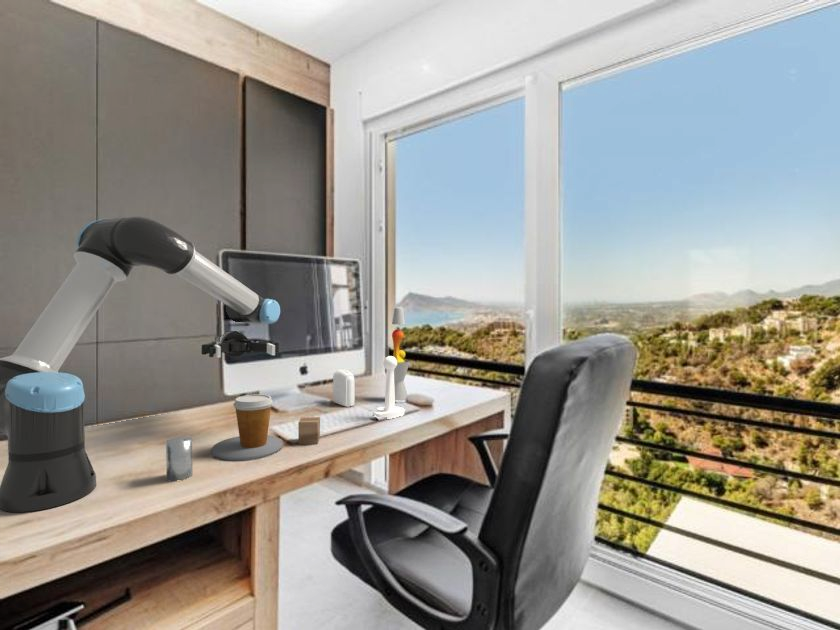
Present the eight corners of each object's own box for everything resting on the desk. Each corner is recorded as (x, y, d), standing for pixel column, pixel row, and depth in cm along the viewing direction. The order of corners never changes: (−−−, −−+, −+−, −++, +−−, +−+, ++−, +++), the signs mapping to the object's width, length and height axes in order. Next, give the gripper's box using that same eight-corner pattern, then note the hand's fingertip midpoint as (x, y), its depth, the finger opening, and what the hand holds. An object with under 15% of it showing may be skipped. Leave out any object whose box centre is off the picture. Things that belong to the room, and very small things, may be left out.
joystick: (381, 421, 145) (381, 358, 144) (366, 417, 150) (366, 355, 149) (406, 415, 152) (407, 355, 151) (391, 411, 158) (392, 353, 157)
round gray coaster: (258, 464, 108) (258, 459, 108) (196, 456, 112) (196, 452, 112) (295, 441, 124) (295, 437, 124) (240, 435, 129) (240, 432, 129)
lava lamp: (398, 404, 167) (399, 308, 165) (380, 400, 172) (381, 307, 171) (414, 400, 174) (415, 307, 172) (396, 396, 179) (397, 306, 178)
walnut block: (317, 444, 123) (317, 421, 122) (298, 444, 122) (298, 422, 122) (320, 438, 128) (320, 416, 127) (301, 438, 127) (301, 417, 127)
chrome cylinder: (180, 482, 97) (180, 444, 97) (161, 479, 98) (160, 442, 98) (197, 473, 102) (197, 437, 102) (178, 470, 103) (178, 435, 103)
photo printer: (331, 402, 169) (331, 368, 169) (341, 400, 172) (341, 367, 171) (345, 407, 161) (345, 372, 161) (356, 406, 164) (356, 371, 163)
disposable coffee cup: (254, 436, 125) (254, 392, 125) (280, 441, 121) (280, 396, 120) (225, 446, 117) (225, 399, 116) (252, 452, 112) (252, 404, 112)
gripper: (275, 354, 146) (294, 363, 127) (187, 358, 133) (194, 368, 115) (276, 331, 146) (294, 336, 127) (187, 332, 133) (194, 338, 115)
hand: (247, 351), depth 121 cm, fingers open, 13 cm apart
